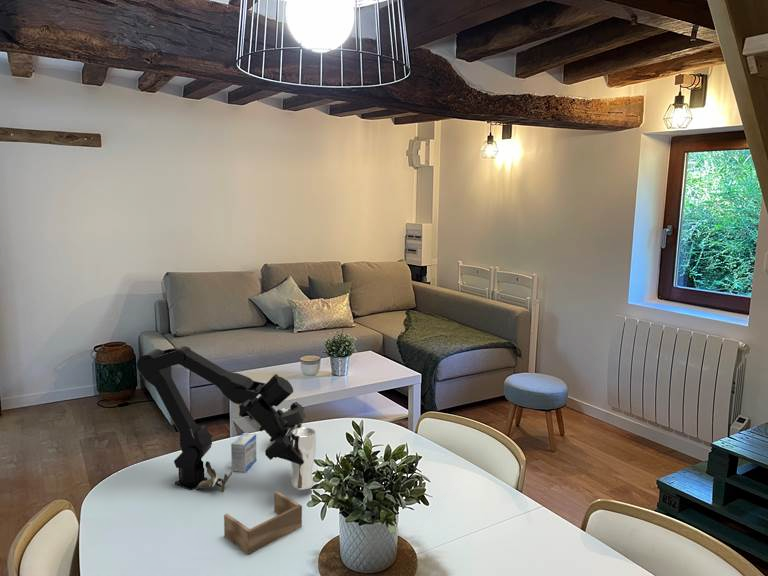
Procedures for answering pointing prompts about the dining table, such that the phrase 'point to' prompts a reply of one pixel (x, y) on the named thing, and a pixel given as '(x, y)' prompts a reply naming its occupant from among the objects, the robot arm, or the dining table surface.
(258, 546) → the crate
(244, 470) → the medicine box
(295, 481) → the beer glass
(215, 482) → the eagle figurine
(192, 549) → the dining table surface
